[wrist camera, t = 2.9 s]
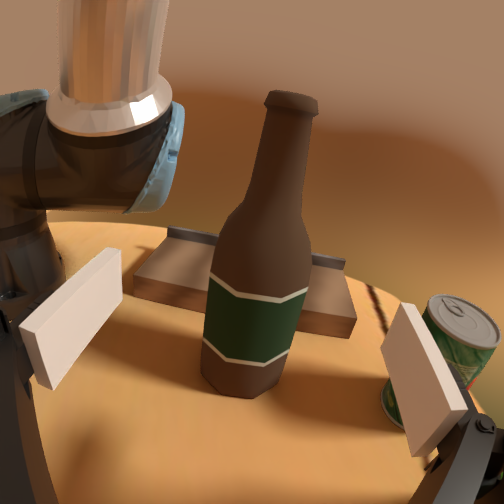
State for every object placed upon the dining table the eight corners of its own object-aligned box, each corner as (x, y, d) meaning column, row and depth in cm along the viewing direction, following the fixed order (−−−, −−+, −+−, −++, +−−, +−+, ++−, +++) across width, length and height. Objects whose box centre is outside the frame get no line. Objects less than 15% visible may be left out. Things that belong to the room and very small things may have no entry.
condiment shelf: (133, 296, 37) (133, 263, 35) (168, 252, 49) (169, 225, 47) (349, 338, 36) (361, 307, 34) (336, 285, 48) (344, 258, 46)
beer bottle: (190, 347, 31) (220, 84, 21) (261, 340, 34) (312, 102, 24) (211, 408, 25) (261, 80, 15) (293, 392, 28) (376, 111, 18)
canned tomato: (456, 425, 24) (515, 342, 20) (397, 441, 23) (462, 351, 18) (424, 375, 31) (468, 294, 27) (368, 381, 30) (412, 292, 25)
